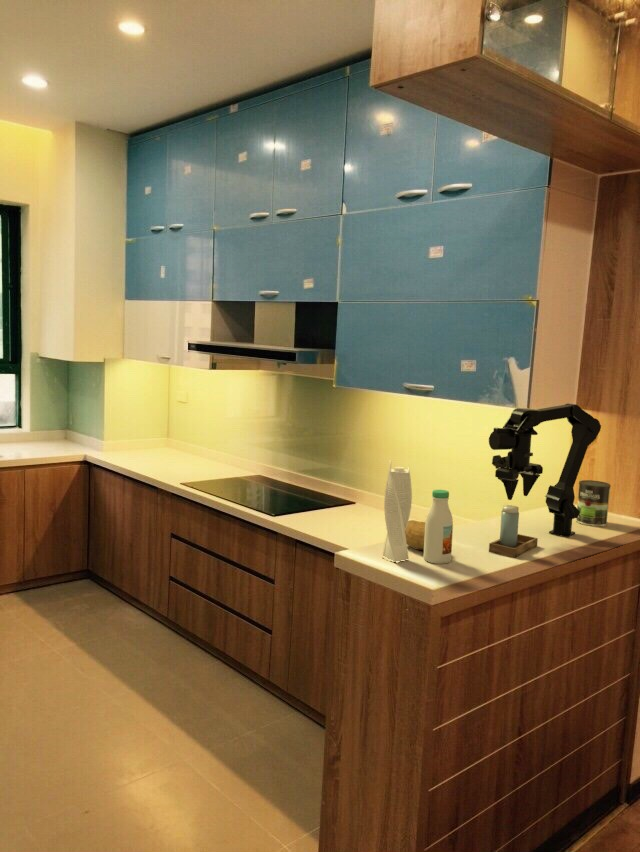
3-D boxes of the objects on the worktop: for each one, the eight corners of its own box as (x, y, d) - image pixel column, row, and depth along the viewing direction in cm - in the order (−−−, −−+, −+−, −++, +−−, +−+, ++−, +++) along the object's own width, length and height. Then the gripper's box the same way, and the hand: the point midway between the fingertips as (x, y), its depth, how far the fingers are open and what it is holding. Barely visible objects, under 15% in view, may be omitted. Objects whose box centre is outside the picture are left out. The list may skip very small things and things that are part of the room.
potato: (414, 540, 222) (415, 514, 221) (446, 552, 211) (448, 525, 210) (390, 544, 217) (391, 518, 216) (422, 557, 205) (423, 530, 204)
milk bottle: (432, 565, 198) (436, 494, 195) (418, 557, 205) (421, 488, 202) (456, 563, 201) (460, 493, 198) (441, 554, 208) (444, 487, 205)
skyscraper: (375, 558, 203) (379, 460, 199) (393, 553, 208) (398, 458, 204) (395, 565, 197) (400, 465, 193) (414, 560, 202) (418, 462, 198)
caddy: (512, 540, 224) (512, 532, 224) (537, 546, 219) (537, 538, 219) (488, 551, 212) (489, 543, 212) (514, 557, 207) (515, 549, 207)
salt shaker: (498, 546, 216) (501, 504, 214) (516, 548, 215) (518, 505, 213) (499, 551, 211) (502, 508, 209) (517, 553, 210) (519, 509, 208)
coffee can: (601, 528, 243) (604, 487, 241) (571, 522, 250) (574, 482, 248) (611, 522, 251) (615, 483, 249) (582, 517, 257) (585, 478, 256)
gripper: (514, 443, 237) (511, 489, 239) (482, 448, 224) (479, 497, 226) (545, 447, 229) (541, 495, 231) (513, 453, 216) (510, 503, 218)
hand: (517, 497), depth 226 cm, fingers open, 9 cm apart
